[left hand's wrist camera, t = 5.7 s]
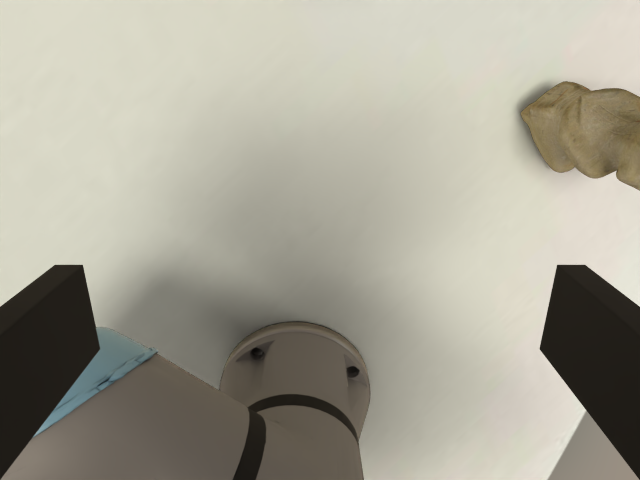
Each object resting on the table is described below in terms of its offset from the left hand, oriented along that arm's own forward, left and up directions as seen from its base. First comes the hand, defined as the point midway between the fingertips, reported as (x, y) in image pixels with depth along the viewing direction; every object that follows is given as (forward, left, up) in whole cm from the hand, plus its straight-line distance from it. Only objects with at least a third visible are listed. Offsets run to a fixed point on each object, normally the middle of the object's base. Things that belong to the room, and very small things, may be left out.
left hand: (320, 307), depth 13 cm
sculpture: (+7, -19, -28) cm, 35 cm away
